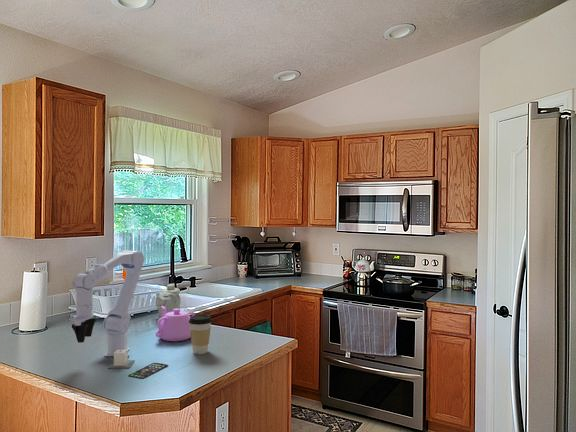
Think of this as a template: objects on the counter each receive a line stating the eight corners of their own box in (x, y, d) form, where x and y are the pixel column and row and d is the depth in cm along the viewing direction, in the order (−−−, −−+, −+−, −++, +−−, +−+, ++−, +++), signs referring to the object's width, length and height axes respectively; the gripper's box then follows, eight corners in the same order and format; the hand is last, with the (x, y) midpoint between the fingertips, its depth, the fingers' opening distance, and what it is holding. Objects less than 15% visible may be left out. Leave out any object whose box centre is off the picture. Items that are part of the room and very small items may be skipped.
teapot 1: (157, 322, 238) (157, 287, 237) (148, 317, 250) (148, 283, 250) (186, 318, 247) (186, 284, 247) (176, 313, 260) (176, 281, 259)
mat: (114, 361, 178) (114, 360, 178) (134, 361, 178) (134, 360, 178) (107, 368, 170) (107, 367, 170) (129, 368, 170) (129, 367, 170)
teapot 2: (179, 328, 228) (179, 301, 227) (206, 336, 213) (206, 307, 213) (140, 337, 211) (140, 308, 211) (166, 347, 197) (167, 316, 196)
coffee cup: (203, 346, 197) (203, 313, 197) (216, 351, 190) (216, 317, 190) (184, 351, 191) (184, 316, 190) (196, 357, 184) (196, 321, 183)
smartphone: (126, 375, 163) (153, 362, 176) (126, 377, 163) (153, 364, 176) (143, 378, 160) (169, 364, 174) (143, 380, 160) (169, 366, 174)
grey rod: (127, 356, 184) (127, 354, 184) (129, 356, 184) (129, 354, 184) (123, 360, 179) (123, 359, 179) (125, 360, 179) (125, 359, 179)
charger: (117, 362, 176) (117, 349, 176) (127, 361, 176) (127, 349, 176) (113, 365, 172) (113, 352, 172) (124, 365, 172) (124, 352, 172)
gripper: (80, 300, 179) (81, 334, 180) (66, 308, 165) (66, 345, 165) (98, 300, 180) (98, 333, 180) (85, 308, 165) (85, 344, 166)
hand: (84, 339), depth 173 cm, fingers open, 7 cm apart
